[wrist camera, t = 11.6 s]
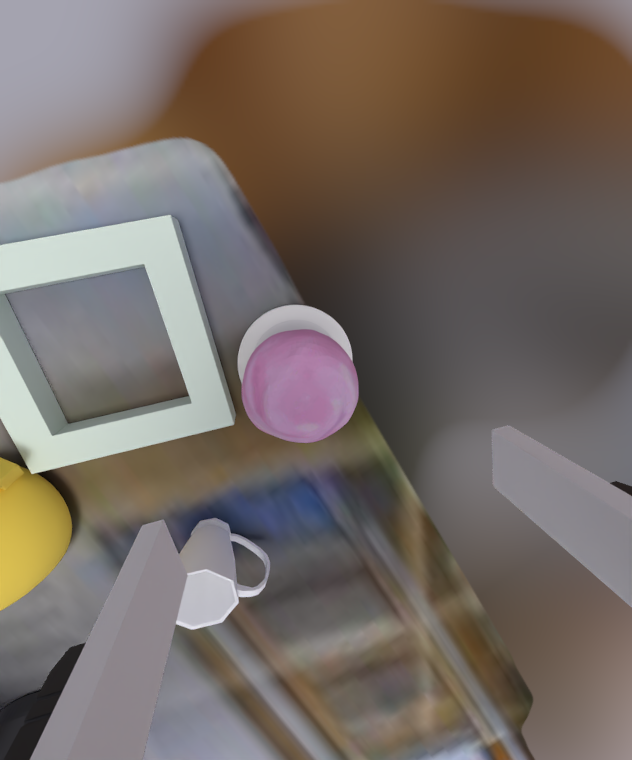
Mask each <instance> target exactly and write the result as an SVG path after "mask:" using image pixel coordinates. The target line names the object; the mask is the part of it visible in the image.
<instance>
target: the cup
mask: <svg viewBox="0 0 632 760" xmlns="http://www.w3.org/2000/svg"><path fill="white" fill-rule="evenodd" d="M231 541H235V542H237V543H240V544H242V545H244V546H245V547H247V548H248V549H250V550H251V551H252V552H254V553H255V554H257V555H258V556H259V557H260V558H261V559H262V560H263V562H264V564H265V567H266V574H265V579H264V580H263V581H262V582H261V583H260V584H259V585H258V586H256V587H253V588H252V587H248V586H243V585H240V584H237V579H236V566H235V558H234V553H233V548H232V544H231ZM179 556H180V559H181V561H182V563H183V566H184V568H185V570H186V573H187V575H188V576H187V580H186V584H185V588H184V592H183V596H182V600H181V604H180V608H179V613H178V617H177V621H176V624H178V625H180V626H183V627H186V628H189V629H191V630H193V629H197V628H201V627H205V626H210V625H214V624H218V623H222V622H223V621H224V619H225V618H226V617H227V616H228V615H229V613H230V612H231V611H232V610H233V609H234V608H235V606H236V605H237V604H238V603H239V600H238V596H239V597H252V596H255V595H258V594H259V593H260V592H261V591H262V590H263V589H264V588H265V585H266V582H267V579H268V575H269V572H270V561H269V558H268V555H267V554H266V553H265V552H264V551H263V550H262V549H261V548H260V547H258V546H257V545H256V544H254V543H253V542H251V541H250V540H248V539H247V538H245V537H242V536H240V535H238V534H233V533H231V531H230V527H229V524H228V523H225V522H223V521H221V520H219V519H217V518H212V519H207V520H202V521H200V522H199V523H198V524H197V525H196V527H195V528H194V529H193V531H192V532H191V537H190V538H189V540H188V541H187V543H186V544H185V546H184V547H183V549H182V550H181V552H180V554H179Z"/></svg>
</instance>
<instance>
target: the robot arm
mask: <svg viewBox="0 0 632 760" xmlns="http://www.w3.org/2000/svg"><path fill="white" fill-rule="evenodd" d="M492 465H493V487H495V488H496V489H497V490H498V491H499V492H500V493H501V494H503V495H504V496H505V497H506V498H507V499H508V500H509V501H511V502H512V503H513V504H514V505H515V506H516V507H518V508H519V509H520V510H521V511H522V512H523V513H524V514H525V515H527V516H528V517H529V518H530V519H531V520H532V521H533V522H535V523H536V524H537V525H538V526H539V527H540V528H542V529H543V530H544V531H545V532H546V533H547V534H548V535H550V536H551V537H552V538H553V539H554V540H555V541H556V542H557V543H559V544H560V545H561V546H562V547H563V548H564V549H566V550H567V551H568V552H569V553H570V554H571V555H573V556H574V557H575V558H576V559H577V560H578V561H579V562H580V563H582V564H583V565H584V566H585V567H586V568H587V569H588V570H590V571H591V572H592V573H593V574H594V575H595V576H596V577H598V578H599V579H600V580H601V581H602V582H603V583H604V584H606V585H607V586H608V587H609V588H610V589H611V590H612V591H614V592H615V593H616V594H617V595H618V596H619V597H620V598H622V599H623V600H624V601H625V602H626V603H627V604H628V605H630V606H631V607H632V486H628V485H626V484H623V483H620V482H617V481H616V482H612V483H608V482H606V481H605V480H603V479H601V478H599V477H598V476H596V475H594V474H593V473H591V472H589V471H587V470H586V469H584V468H582V467H580V466H579V465H577V464H575V463H573V462H572V461H570V460H568V459H566V458H564V457H563V456H561V455H560V454H558V453H556V452H554V451H553V450H551V449H549V448H547V447H546V446H544V445H542V444H540V443H538V442H537V441H535V440H533V439H532V438H530V437H528V436H526V435H525V434H523V433H521V432H519V431H518V430H516V429H514V428H513V427H511V426H509V425H508V426H504V427H501V428H498V429H494V430H492ZM187 576H188V575H187V573H186V570H185V568H184V566H183V563H182V561H181V559H180V556H179V554H178V552H177V549H176V547H175V545H174V542H173V540H172V538H171V535H170V533H169V531H168V528H167V526H166V524H165V521H164V519H163V520H160V521H156V522H152V523H149V524H145V525H142V527H141V529H140V531H139V533H138V535H137V537H136V539H135V541H134V544H133V546H132V548H131V550H130V552H129V554H128V556H127V558H126V560H125V562H124V564H123V566H122V569H121V571H120V573H119V575H118V577H117V579H116V581H115V583H114V585H113V587H112V589H111V591H110V594H109V596H108V598H107V600H106V602H105V604H104V606H103V608H102V610H101V612H100V614H99V617H98V619H97V621H96V623H95V625H94V627H93V629H92V631H91V633H90V635H89V637H88V639H87V642H86V643H84V644H80V645H77V646H74V647H70V648H69V649H68V651H67V652H66V653H65V654H64V656H63V657H62V658H61V659H60V661H59V662H58V663H57V664H56V666H55V667H54V668H53V669H52V670H51V672H50V673H49V675H48V677H47V679H46V681H45V683H44V685H43V687H42V688H41V690H40V692H36V693H33V694H30V695H27V696H24V697H22V698H20V699H18V700H16V701H14V702H12V703H11V704H9V705H8V706H7V707H5V708H4V709H3V710H2V711H1V712H0V760H143V756H144V752H145V748H146V744H147V740H148V736H149V731H150V727H151V723H152V719H153V715H154V711H155V707H156V703H157V699H158V695H159V690H160V686H161V682H162V678H163V674H164V670H165V666H166V662H167V658H168V654H169V649H170V645H171V641H172V637H173V633H174V629H175V625H176V621H177V617H178V613H179V608H180V604H181V600H182V596H183V592H184V588H185V584H186V580H187Z"/></svg>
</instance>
